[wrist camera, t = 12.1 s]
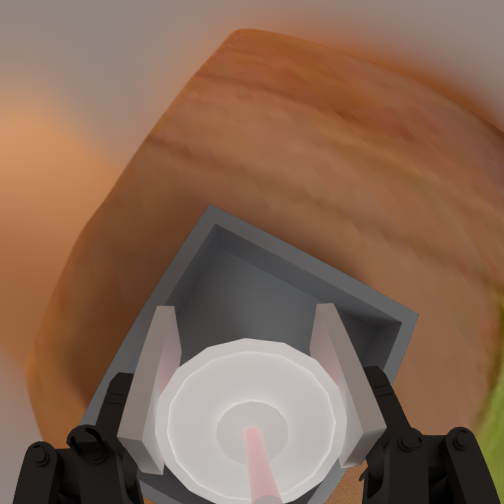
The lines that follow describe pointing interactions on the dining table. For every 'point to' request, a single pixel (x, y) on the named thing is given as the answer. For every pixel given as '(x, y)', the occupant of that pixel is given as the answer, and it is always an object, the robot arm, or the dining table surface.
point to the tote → (256, 317)
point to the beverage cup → (250, 423)
